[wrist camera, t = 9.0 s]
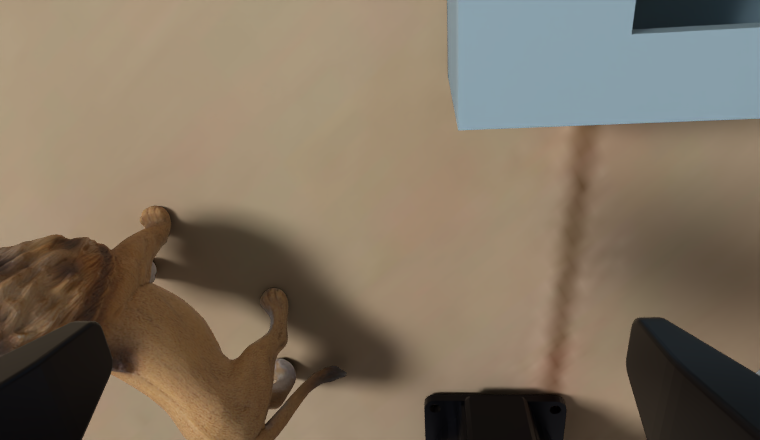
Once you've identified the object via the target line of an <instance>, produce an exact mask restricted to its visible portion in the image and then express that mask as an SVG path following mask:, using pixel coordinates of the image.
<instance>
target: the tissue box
mask: <svg viewBox="0 0 760 440" xmlns="http://www.w3.org/2000/svg"><path fill="white" fill-rule="evenodd" d="M447 28H448V78H449V84H450V89H451V94H452V100H453V105H454V110H455V115H456V121H457V126H458V130H478V129H503V128H529V127H555V126H580V125H606V124H632V123H657V122H683V121H708V120H734V119H760V0H447Z"/></svg>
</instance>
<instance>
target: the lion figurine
mask: <svg viewBox="0 0 760 440" xmlns="http://www.w3.org/2000/svg"><path fill="white" fill-rule="evenodd" d="M140 222H141V224H142V225H143V226H145V229H143V230H141V231H139V232H137V233H135V234H133V235H132V236H130V237H128V238H127V239H125V240H124V241H122V242H121V243H120V244H119V245H117V246H116V247H115V248H114V249H112V250H110V249H109V248H108V247H107V246H106V245H104V244H99V243H97V242H96V241H95V240H90V239H89V238H88V237H82V238H74V239H67V238H65V237H63V236H62V235H50V236H47V237H43V238H40V239H36V240H33V241H26V242H22V243H20V244H18V245H15V246H11V247H2V248H0V356H2V355H4V354H6V353H9V352H11V351H13V350H15V349H17V348H19V347H21V346H23V345H25V344H27V343H29V342H31V341H33V340H35V339H37V338H39V337H41V336H44V335H46V334H48V333H50V332H52V331H54V330H56V329H58V328H60V327H62V326H64V325H66V324H68V323H70V322H74V321H95V322H98V323H99V324H100V325H101V327H102V329H103V332H104V335H105V338H106V340H107V343H108V346H109V349H110V352H111V355H112V358H113V367H112V372H111V374H112V375H113V376H115V377H117V378H119V379H121V380H123V381H124V382H126V383H128V384H129V385H131V386H133V387H134V388H136V389H137V390H139V391H141V392H142V393H144V394H145V395H147V396H148V397H150V398H151V399H152V400H153V401H155V402H156V403H157V404H158V405H159V406H161V407H162V408H163V409H164V410H165V411H166V412H167V413H168V414H169V415H170V417H171V418H172V420H173V421H174V422H175V424H176V425H177V427H178V428H179V430H180V432H181V433H182V435H183V436H184V437H185V438H186V439H187V440H274V439H275V438H276V437H277V436H278V435H279V433H280V432H281V431H282V430H283V428H284V427H285V426H286V424H287V423H288V421H289V420H290V418H291V417H292V415H293V414H294V412H295V411H296V410H297V408H298V407H299V405H300V404H301V403H302V401H303V400H304V398H305V397H306V396H307V395H308V393H309V392H311V391H312V390H313V389H314V388H316V387H317V386H319V385H320V384H322V383H325V382H331V381H333V380H336V379H338V378H341V377H345V376H346V374H347V373H346V372H345V371H343V370H341V369H340V368H339V367H337V366H330V367H326V368H324V369H322V370H320V371H318V372H316V373H314V374H313V375H312V376H311V377H310V378H308V379H307V380H306V381H305V382H304V383H303V384H302V385H301V386H300V387H299V388H298V389H297V390H296V391H295V392H294V393H293V394H292V395H291V396H290V398H289V399H288V400H287V401H286V402H285V404H284V405H283V406H282V407H281V408H280V409H279V410H278V411H277V412H276V413H275V414H274V416H273V417H272V418H271V419H270V420H269V421H268V422H267V423H266V424H265V419H266V416H267V412H268V409H277V408H279V407H280V406H281V405H282V404H283V402H284V400H285V399H286V397H287V395H288V394H289V392H290V390H291V389H292V387H293V385H294V383H295V380H296V372H295V369H294V367H293V366H292V364H291V363H290V362H288V361H286V360H285V359H276V358H277V355H278V353H279V352H280V351H281V350H282V349H283V348H284V347H285V345H286V344H287V340H288V335H287V316H288V308H289V305H288V300H287V297H286V295H285V293H284V292H283V291H282V290H280V289H277V288H270V289H268V290H267V291H266V292H265V293H263V295H262V296H261V298H260V305H261V306H262V308H263V309H264V310H265V311H266V312H267V313H268V314H269V316H270V319H271V323H270V329H269V331H268V333H267V334H266V335H264V336H263V337H262V338H260V339H258V340H257V341H255V342H254V343H252V344H251V345H249V346H248V347H247V348H246V349H245V350H244V351H243V353H242V354H241V355H240V356H239V357H238V358H237V359H234V360H230V359H228V358H227V357H226V356H225V355H224V354H223V353H222V351H221V348H220V346H219V344H218V342H217V340H216V338H215V336H214V334H213V333H212V331H211V329H210V328H209V326H208V324H207V323H206V321H205V320H204V318H203V317H202V316H201V315H200V314H199V313H198V312H197V311H195V310H194V309H193V308H192V307H191V306H190V305H189V304H188V303H186V302H185V301H184V300H183V299H181V298H180V297H178V296H176V295H174V294H173V293H171V292H169V291H167V290H165V289H163V288H161V287H159V286H157V285H155V284H152V283H153V282H154V280H155V274H156V272H157V270H156V265H155V264H154V263H153V259H154V258H155V256H156V254H157V253H158V251H159V250H160V248H161V247H162V246H163V245H164V244H165V243H166V242H167V239H168V236H169V233H170V229H171V220H170V216H169V214H168V212H167V211H166V210H165V209H164V208H162V207H159V206H151V207H149V208H147V209H145V210H144V211H143V213H142V216H141V217H140ZM274 379H275V380H277V381H276V383H274V384H273V380H274Z"/></svg>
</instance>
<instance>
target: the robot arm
mask: <svg viewBox="0 0 760 440" xmlns="http://www.w3.org/2000/svg"><path fill="white" fill-rule="evenodd" d="M112 367H113V358H112V355H111V352H110V349H109V346H108V343H107V340H106V338H105V335H104V332H103V329H102V327H101V325H100V324H99V323H98V322H95V321H74V322H70V323H68V324H66V325H64V326H62V327H60V328H58V329H56V330H54V331H52V332H50V333H48V334H46V335H44V336H41V337H39V338H37V339H35V340H33V341H31V342H29V343H27V344H25V345H23V346H21V347H19V348H17V349H15V350H13V351H11V352H9V353H6V354H4V355H2V356H0V440H82V438H83V436H84V434H85V431H86V429H87V427H88V424H89V422H90V420H91V418H92V415H93V413H94V411H95V409H96V406H97V404H98V402H99V399H100V397H101V395H102V393H103V390H104V388H105V386H106V383H107V381H108V379H109V377H110V374H111V372H112ZM626 368H627V373H628V377H629V380H630V384H631V387H632V391H633V394H634V397H635V401H636V404H637V407H638V411H639V414H640V417H641V421H642V424H643V428H644V431H645V434H646V438H647V440H760V375H758V374H756V373H755V372H753V371H751V370H749V369H748V368H746V367H744V366H743V365H741V364H739V363H738V362H736V361H734V360H733V359H731V358H729V357H728V356H726V355H724V354H723V353H721V352H719V351H718V350H716V349H714V348H713V347H711V346H709V345H708V344H706V343H704V342H703V341H701V340H699V339H698V338H696V337H694V336H693V335H691V334H689V333H688V332H686V331H684V330H683V329H681V328H679V327H678V326H676V325H674V324H673V323H671V322H669V321H668V320H666V319H664V318H660V317H651V318H637V319H635V320H634V322H633V324H632V327H631V333H630V339H629V345H628V351H627V357H626ZM432 405H438V406H432ZM552 406H557V407H554V408H552ZM424 409H425V436H426V440H563V437H564V428H565V419H566V405H565V402H564V400H563V399H562V398H561V397H559V396H556V395H455V394H434V395H430V396H428V397H427V398H426V399H425V406H424Z"/></svg>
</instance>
